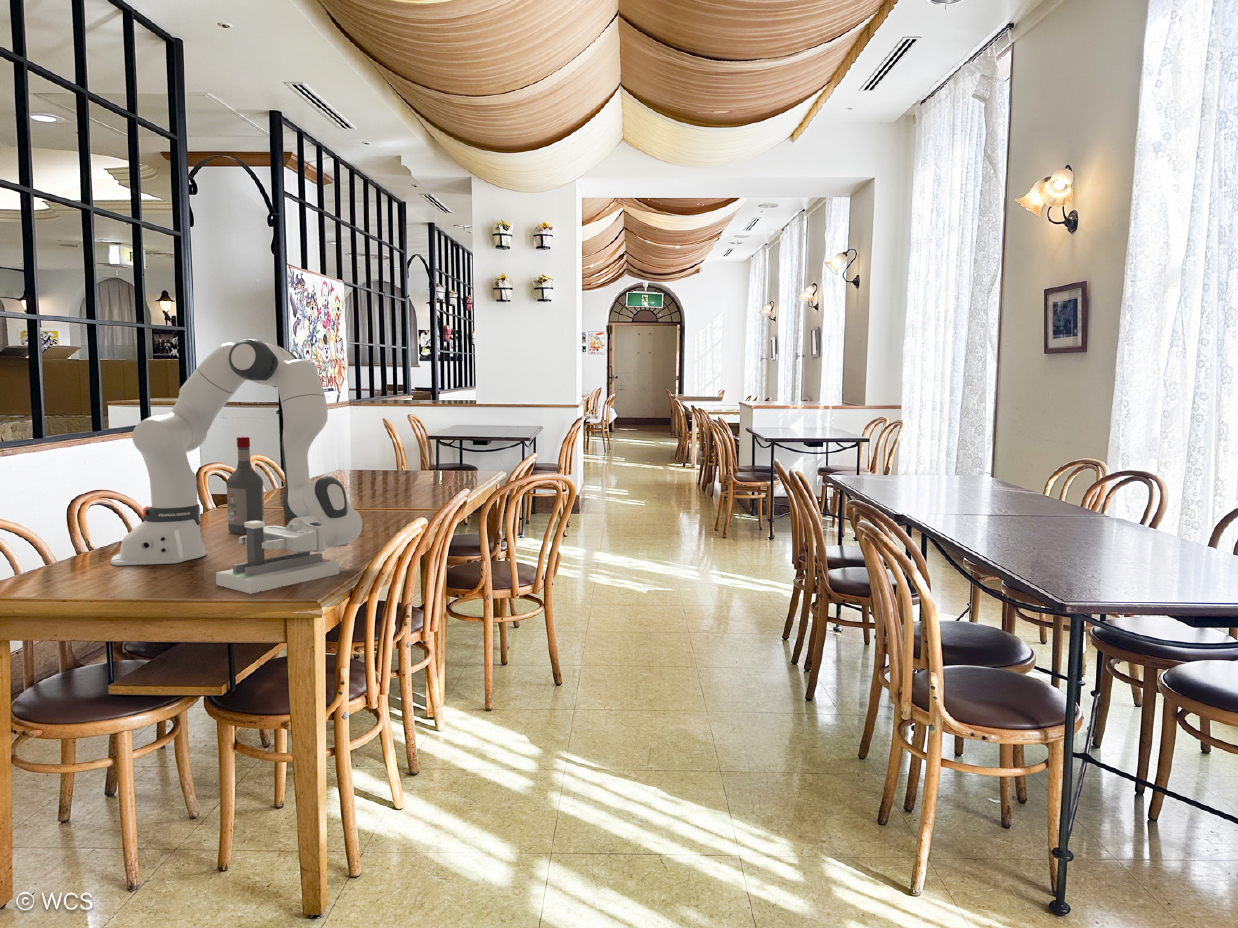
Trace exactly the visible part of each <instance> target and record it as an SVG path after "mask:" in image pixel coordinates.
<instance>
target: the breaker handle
mask: <svg viewBox="0 0 1238 928" xmlns="http://www.w3.org/2000/svg"><path fill="white" fill-rule="evenodd" d="M265 526H266V522H262V521H257V520H255V521H248V522H244V527H246V534H245V536H246V535H247V544H246V554H247V556H246V557H247V559H246V560H247V562H248V564H246V566H247V567H251V566H256V565H261V564H266V563H265V559H266V558H265V549H263V548H262V542H263V541H264V533H263V527H265Z"/></svg>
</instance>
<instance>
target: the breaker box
mask: <svg viewBox="0 0 1238 928" xmlns="http://www.w3.org/2000/svg"><path fill="white" fill-rule="evenodd" d="M264 559H265V563H266V564H261V565H256V566H251V567H247V566H246V564H248V561H245V562H240V563H235V564H232V569H231V568H230V569H227V570H222V571H216V572H215V576H216V578H215V579H216V580H215V582H216V586H220V587H223V586H224V587H223V588H227V589H231V590H234V591H235V590H236V591H239V592H242V593H245V594H249V595H251V594H255V593H259V592H260V591H261V592H264V591H268V590H273V589H278V587H279V588H282V586H283V587H286V586H290V585H297V584H301V583H305V582H309V581H313V580H317V579H318V580H319V579H322V578H327V577H331V576H334V575H339V574H340V562H339V561H335V560H331V559H326V558H323V553H321V552H316V553H314V554H311V551H310V552H303V553H297V552H292V553H288V554H287V553H286V554H282V555H277V556H271V557H268V558H267V557H266V558H264ZM300 582H301V583H300Z"/></svg>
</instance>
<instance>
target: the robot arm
mask: <svg viewBox="0 0 1238 928" xmlns="http://www.w3.org/2000/svg"><path fill="white" fill-rule="evenodd" d="M246 381H251V382H253V383H255V384H258V385H262V386H263V385H264V386H269V387H273V388H277V391H278V394H279V399H280V405H281V410H282V411H281V412H282V419H283V420H282V421H283V422H282V423H283V428H282V436H281V451H282V452H281V454H282V462H283V463H282V464H283V465H282V466H283V474H284V493H283V500H282V507H283V512H284V511H285V514H286V515H287V517H288V518H289V519H290V520H291V521H290V522H289V524H288V525H287V526H286V527H285V526H281V525H265V527H263V533H264V541H263V542H262V548H263V549H264V550H267V551H268V550H276V549H278V550H283V551H288V552H292V553H303V552H310V553H311V552H313V553H321V552H325V550H326V548H335V547H338V546H339V547H340V546H343V545H346V544H349V543H351V542H353V541H355V540H356V539H357V538H358V537H359V536H360V534H361V532H362V529H363V520H362V517H361V515H360V513H359V512H358V511H356V510H355V509H354V508H353V507H352V505H351V503H350V501H349V500H348V498H347V493H346V489H345V486H344V485H343V483H342V482H340V481H339V480H338V479H337V478H335V477H333V476H328V475H325V476H321V477H319V478H317V479H315V480H312V481H311V480H310V468H309V459H308V457H309V455H308V454H309V450H310V448H311V445H312V443H313V442H314V440H315V439H316V438H317V436H318V435H320V432H322V431H323V429H324V428H325V426H326V424H327V422H328V415H329V414H328V413H329V412H328V404H327V399H326V395H325V390H324V387H323V383H322V381H321V378H320V375H319V373H318V370H317V368H316V366H315V365H314V364H313V362H310V361H308V360H306V359H300V358H298V357H297V356H296V355H295V354H294V353H293V352H292V351H290V350H287V349H285V348H283V347H281V346H279V345H276V344H273V343H269V342H264V341H261V340H259V339H255V338H246V339H245V338H244V339H241V340H238V341H236V342H235V343H234V342H223V343H222V344H220V345H219V346H218V347H216V348H215V349H214V350H213V351H212V352H211V353H209V355H207V357H205V359H204V360H202V362H201V363H200V364H199V365H198V366H197V368H195V370H194V371H193V373H192V374H191V375H190V376H189V377H188V378H187V379H186V381H185V382H184V383H183V385H182V386H181V387H180V388H179V391H178V393H179V395H178V398H177V400H176V402H175V403H174V406H173V407H172V408H171V410H170V411H169V412H167V413H165V414H156V415H151V416H149V417H147V418H145V419H143V420H141V421H139V422H138V423H137V424H136V425H135V426H134V428H133V431H132V436H131V437H132V442H133V444H134V447H135V448H136V449H137V450H138V452H140V453H141V455H142V458H143V461H144V463H145V467H146V470H147V473H148V477H149V484H150V485H149V486H150V498H151V499H150V501H151V506H150V505H149V506H145V507H144V508H142V509H143V510H142V512H143V513H142V517H143V520H144V521H143V522H142V523H140V524H139V525H137V526H136V527H134V529H132V530H131V531H130V532H128V533H126V535H125V536H124V537H123V539H122V541H121V544H120V551H119V553H117V554H115V555H113V556H112V557H111V561H110V563H111V564H112V566H137V565H138V566H139V565H140V566H141V565H164V564H167V565H168V564H178V563H182V562H185V561H190V560H194V559H195V560H196V559H198V558H202V557H205V556H206V555H207V551H206V548H205V545H204V542H203V537H202V532H201V526H200V524H201V520H202V517H201V508H200V504H199V503H198V502H199V501H198V486H197V485H198V484H197V483H198V481H197V475H196V474H195V472H194V471H193V469H192V467H191V465H190V462H189V459H188V455H187V453H190V452H193V451H194V450H196V449H198V448H199V447H201V446H202V444H204V443H205V441H206V439H207V436H208V432H209V430H210V428H211V426H212V424H213V422H214V421H215V419H216V418H217V416H218V414H219V413H220V411H221V410H222V409H223V408H224V407H225V405H226V404H227V403H228V402H229V400H230V399H231V398H232V397H233V396H234V395H235V393H236V392H237V391H238V389H239V388H240V387H241V386H242V385H243V384H244V383H245V382H246ZM238 544H239V545H247V535H246V534H245V535H242V536H239V538H238Z"/></svg>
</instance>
